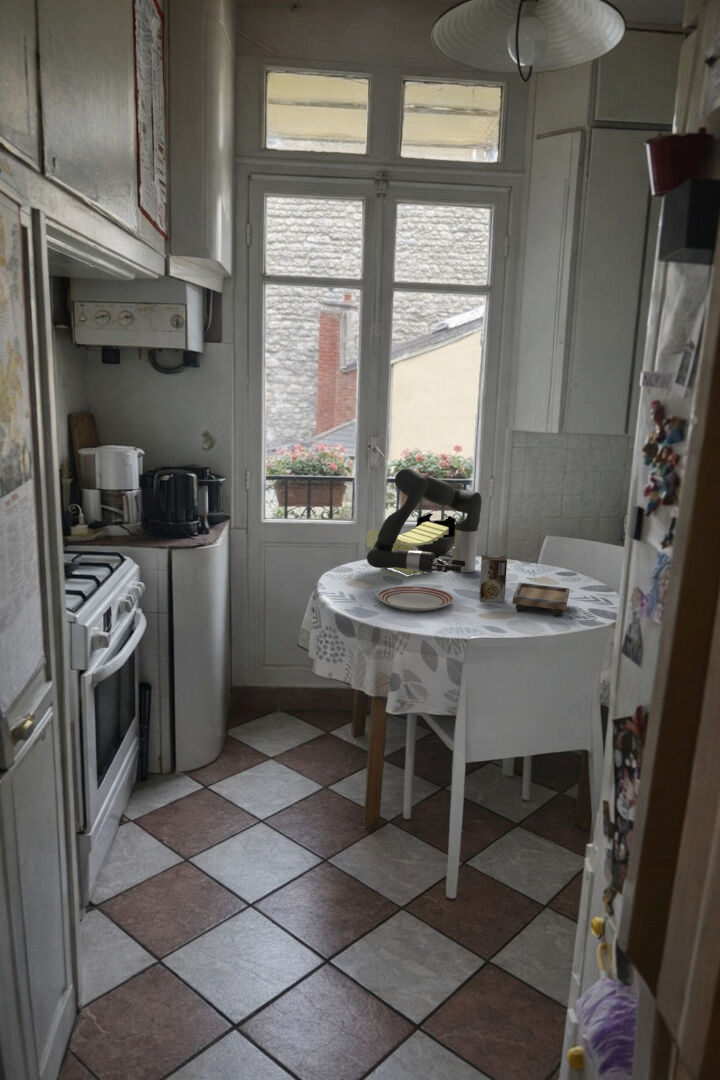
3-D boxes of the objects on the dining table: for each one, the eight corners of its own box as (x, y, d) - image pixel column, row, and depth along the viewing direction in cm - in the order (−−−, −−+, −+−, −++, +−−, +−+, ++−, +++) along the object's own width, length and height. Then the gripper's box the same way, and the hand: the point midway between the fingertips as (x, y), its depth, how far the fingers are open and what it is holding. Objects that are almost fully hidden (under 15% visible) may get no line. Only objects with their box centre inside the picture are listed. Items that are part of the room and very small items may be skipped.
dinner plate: (364, 596, 292) (364, 587, 292) (430, 589, 303) (431, 581, 302) (396, 620, 268) (397, 610, 267) (467, 612, 279) (468, 603, 278)
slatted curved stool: (420, 560, 344) (422, 520, 339) (446, 569, 331) (448, 527, 327) (365, 570, 326) (367, 527, 322) (390, 579, 313) (392, 535, 309)
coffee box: (503, 597, 296) (506, 555, 292) (504, 603, 290) (508, 560, 286) (478, 596, 297) (481, 554, 293) (479, 601, 290) (482, 558, 287)
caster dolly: (511, 612, 279) (513, 596, 278) (518, 597, 296) (519, 582, 295) (564, 619, 274) (566, 602, 273) (567, 604, 291) (569, 588, 290)
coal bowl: (401, 553, 355) (403, 511, 350) (434, 547, 367) (436, 507, 362) (431, 563, 339) (434, 520, 335) (465, 557, 351) (468, 515, 347)
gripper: (416, 555, 291) (460, 560, 286) (425, 547, 304) (467, 552, 299) (415, 575, 292) (458, 580, 288) (424, 566, 306) (465, 571, 301)
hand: (463, 566), depth 293 cm, fingers open, 8 cm apart
